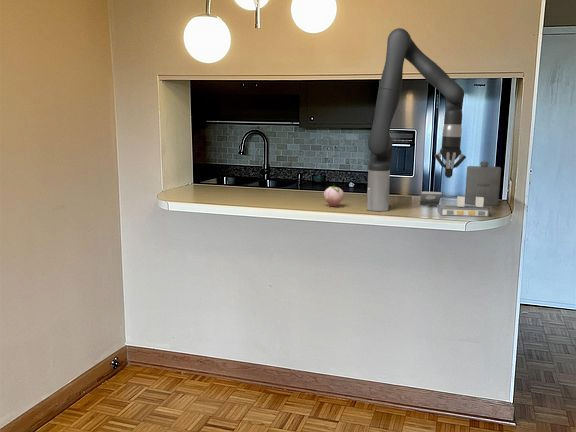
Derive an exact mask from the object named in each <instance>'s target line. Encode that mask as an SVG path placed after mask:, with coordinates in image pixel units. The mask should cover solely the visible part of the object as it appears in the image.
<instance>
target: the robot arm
mask: <svg viewBox="0 0 576 432" xmlns="http://www.w3.org/2000/svg"><path fill="white" fill-rule="evenodd" d="M386 44H387V45H386V52H385V53H386V55H385V62H384V66H383V70H382V74H381V77H380V82H379V86H378V91H377V98H376V103H375V110H374V119H373V122H372V127H371V130H370V133H369V137H368V140H367V147H368V150H369V151H370V158H369V162H368V165H367V167H368V168H367V172H368V173H367V190H366V191H367V192H366V210H367V211H371V212H372V211H374V212H385V211H389V207H390V206H389V199H390V179H391V178H390V177H391V165H392V158H393V139H392V137H391V135H390V133H391V132H390V130H391V124H392V121H393V118H394V115H395V113H396V111H397V109H398V106H399V103H400V98H401V93H402V88H403V87H402V86H403V73H404V72H403V70H404V69H403V68H404V63H405V60H407V62H409V63H410V64H411V65H412V66H413V67H414V68H415V69H416V70H417V71H418V72H419V74H420V75H422V77H423V78H424V79H425V80H426V81H427V82H428V83H429V84H430V85H431V86H432V87H434V88H435V89H436V90H438V91H439V92H440V93H441V94H442V95H443V97H445V112H444V119H443V127H442V128H443V129H442V134H441V135H442V136H441V137H442V139H441V147H440V150H439V152H438V153H435V154H434V157H435V160H437V162H438V163H439V165H440V166H441V167H443V168H444V176H445V178H447V179H451V177H453V170H454V169H455V168H458V167H459V166H460V165H461V164H462V163H463V161H464V160H466V158H467V156H466V155H464V154H463V153H462V150H461V146H462V145H461V144H462V132H463V131H462V130H463V128H462V124H463V105H464V98H465V90H464V88H463V87H461V86H460V84H458V83H457V82H456V81H454V79H452V78H451V77H450V76H449V75H448V74H447V72H446V71H444V70H443V69H442V68H441V67H440V66H439V65H438V64H437V63H436V62H435V61H434V60H432V59H431V58H430V57H429V56H427V55H426V54H425V53H424V52H423V51H422V50H421V49H420V48H419V47H418V45H416V42H415V41H414V40H413V39H412V37H411V35H410V33H409V32H408V31H407V30H406V29H404V28H403V27H402V28H400V27H399V28H396V29H393V30H392V31H390V33H389V35H388V36H387V42H386ZM441 158H443V159H444V162H443V160H442V159H441ZM456 160H457V161H456ZM455 161H456V162H455Z"/></svg>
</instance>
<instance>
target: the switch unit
mask: <svg viewBox="0 0 576 432" xmlns="http://www.w3.org/2000/svg"><path fill="white" fill-rule="evenodd" d="M437 213H438V214H439V215H440V216H443V217H445V216H447V217H448V216H449V217H476V218H477V217H480V218H481V217H482V218H489V215H490V214H489V213H490V209H489V208H487V207H486V206H484V205H483V207H476V206H475V205H466V204H464V207H458V206H457V204H439V205H437Z"/></svg>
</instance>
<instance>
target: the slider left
mask: <svg viewBox="0 0 576 432" xmlns="http://www.w3.org/2000/svg"><path fill="white" fill-rule="evenodd" d="M456 205H457V206H458V207H464V205H465V195H457V197H456Z"/></svg>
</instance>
